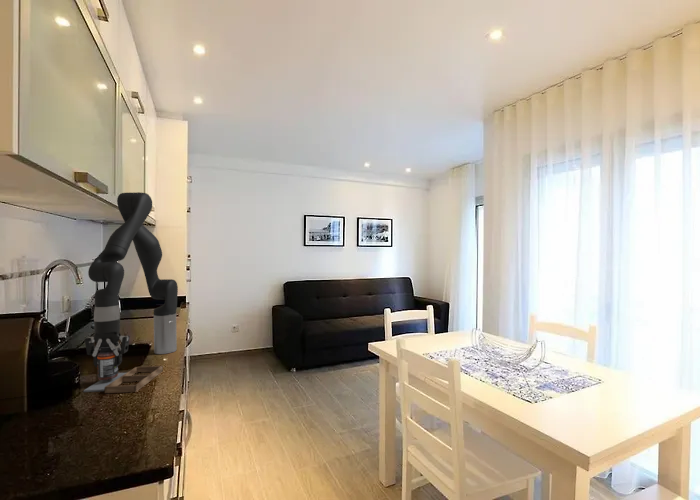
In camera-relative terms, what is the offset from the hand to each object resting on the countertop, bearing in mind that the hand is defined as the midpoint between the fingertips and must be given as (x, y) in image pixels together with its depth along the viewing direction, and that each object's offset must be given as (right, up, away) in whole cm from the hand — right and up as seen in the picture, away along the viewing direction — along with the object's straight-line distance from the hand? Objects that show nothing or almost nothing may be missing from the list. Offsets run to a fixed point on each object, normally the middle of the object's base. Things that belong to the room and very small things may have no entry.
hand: (107, 365), depth 123 cm
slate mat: (0, -6, 0) cm, 6 cm away
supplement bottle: (0, -4, 0) cm, 4 cm away
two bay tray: (+10, -6, +1) cm, 11 cm away
